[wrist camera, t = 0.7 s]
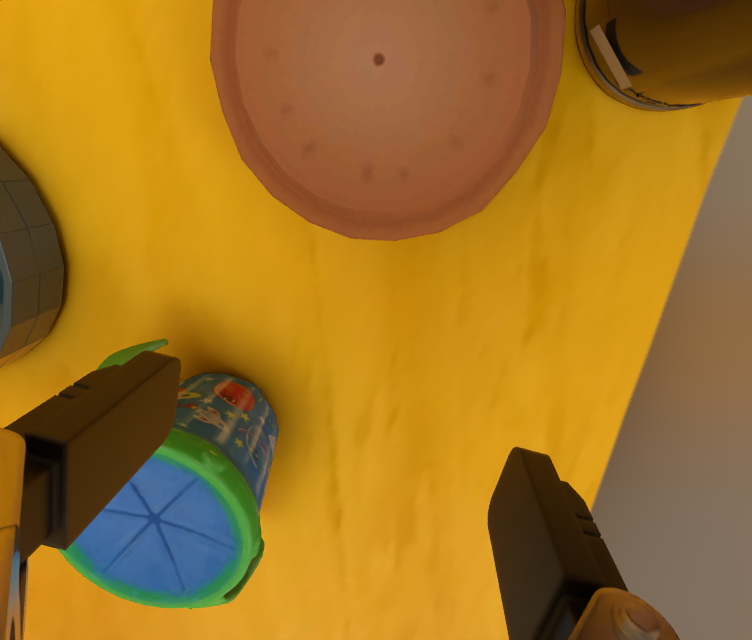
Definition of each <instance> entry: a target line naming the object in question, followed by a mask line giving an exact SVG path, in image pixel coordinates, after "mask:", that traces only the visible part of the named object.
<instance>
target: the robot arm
mask: <svg viewBox="0 0 752 640" xmlns="http://www.w3.org/2000/svg"><path fill="white" fill-rule="evenodd" d="M575 28H576V37H577V42H578V47H579V50H580V54H581V56H582V59H583V61H584V64H585V66H586V68H587V69H588V71H589V73H590V74H591V76H592V77H593V79H594V80H595V81H596V83H597V84H598V85H599V86H600V87H601V88H602V89H603V90H604V91H605V92H606V93H607V94H609V95H610V96H612V97H613V98H614V99H616V100H618V101H620V102H621V103H623V104H626V105H628V106H631V107H634V108H638V109H642V110H648V111H672V110H679V109H685V108H690V107H695V106H699V105H702V104H705V103H708V102H713V101H720V100H726V99H732V98H738V97H744V96H749V95H752V0H576V9H575ZM180 371H181V363H180V360H179V359H178V358H176V357H172V356H168V355H164V354H160V353H156V352H153V351H149V350H145V351H142V352H141V353H139V354H138V355H136V356H135V357H134V358H132V359H131V360H129V361H128V362H126V363H125V364H123V365H122V366H121V365H117V364H115V365H112V366H108V367H105V368H102V369H99V370H96V371H92V372H91V373H89V374H87V375H86V376H84V377H83V378H81V379H80V380H78V381H77V382H75V383H74V385H73V386H71V385H70V386H69V387H67V388H66V389H64V390H63V391H61V392H60V393H59V395H58V396H56V395H55V396H53V397H52V398H50V399H49V400H47V401H46V402H44V403H42V404H41V405H39V406H38V407H36V408H35V409H33V410H32V411H30V412H28V413H27V414H25V415H24V416H22V417H21V418H19V419H18V420H16V421H15V422H13V423H11V424H10V425H8V426H7V427H5V428H4V429H3V428H0V640H24V632H25V615H26V598H27V580H28V557H29V556H30V555H31V554H32V553H33V552H34V551H35V550H36V549H37V548H38V547H39V546H40V545H41V544H42V545H45V546H49V547H53V548H57V549H61V550H65V551H66V550H67V549H68V547H69V546H70V545H71V544H72V543H73V542H74V541H75V540H76V539H77V538H78V536H79V535H80V534H81V533H82V532H83V531H84V530H85V529H86V528H87V527H88V525H89V524H90V523H91V522H92V521H93V520H94V519H95V518H96V517H97V515H98V514H99V513H100V512H101V511H102V510H103V509H104V508H105V507H106V506H107V504H108V503H109V502H110V501H111V500H112V499H113V498H114V497H115V496H116V495H117V493H118V492H119V491H120V490H121V489H122V488H123V487H124V486H125V485H126V484H127V482H128V481H129V480H130V479H131V478H132V477H133V476H134V475H135V474H136V472H137V471H138V470H139V469H140V468H141V467H142V466H143V465H144V464H145V463H146V461H147V460H148V459H149V458H150V457H151V456H152V455H153V454H154V453H155V452H156V450H157V449H158V448H159V447H160V446H161V445H162V444H163V443H164V441H165V440H166V439H167V437H168V436H169V434H170V432H171V429H172V427H173V424H174V421H175V417H176V409H177V399H178V390H179V381H180ZM488 529H489V535H490V540H491V545H492V550H493V556H494V561H495V566H496V572H497V577H498V582H499V588H500V593H501V598H502V603H503V609H504V614H505V619H506V625H507V630H508V635H509V640H680V639H679V637H678V635H677V634H676V632H675V631H674V629H673V628H672V627H671V625H670V624H669V623H668V622H667V621H666V619H665V618H664V617H662V615H661V614H660V613H659V612H657V611H656V610H655V609H654V608H653V607H652V606H650V605H649V604H648V603H646V602H645V601H643V600H642V599H640V598H639V597H637V596H635V595H633V594H631V593H629V592H628V590H627V588H626V586H625V584H624V582H623V579H622V577H621V575H620V573H619V571H618V569H617V567H616V565H615V563H614V561H613V559H612V557H611V555H610V553H609V551H608V549H607V547H606V544H605V543H604V540H603V539H601V538H600V536H601V534H600V533H599V530H598V528H597V526H596V524H595V523H593V518H592V516H591V514H590V512H589V510H588V507H587V505H586V503H585V501H584V500H583V499H582V498H581V497H580V495H579V494H578V493H577V492H576V491H575V490H574V489H573V488H572V487H571V486H570V485H569V483H568V482H564V481H560V479H559V477H558V474H557V472H556V470H555V468H554V465H553V463H552V461H551V459H550V457H549V456H548V455H546V454H542V453H539V452H535V451H531V450H527V449H523V448H519V447H514V448H513V449H512V450H511V452H510V454H509V456H508V458H507V461H506V463H505V466H504V468H503V471H502V473H501V476H500V478H499V481H498V483H497V486H496V488H495V491H494V493H493V496H492V498H491V501H490V505H489V510H488Z"/></svg>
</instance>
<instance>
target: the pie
mask: <svg viewBox="0 0 752 640" xmlns="http://www.w3.org/2000/svg"><path fill="white" fill-rule="evenodd" d="M565 17H566V10H565V5H564V1H563V0H214V1H213V13H212V33H211V53H210V61H211V65H212V70H213V74H214V78H215V82H216V87H217V91H218V95H219V99H220V103H221V108H222V112H223V114H224V117H225V119H226V122H227V124H228V127H229V129H230V132H231V134H232V137H233V139H234V142H235V144H236V146H237V149H238V151H239V154H240V156H241V159H242V160H243V161H244V163H245V164H246V165H247V166H248V167H249V169H250V170H251V171H252V172H253V173H254V174H255V176H256V177H257V178H258V179H259V180H260V182H261V183H262V184H263V185H264V186H265V188H266V189H267V190H268V191H269V192H270V193H271V195H272V196H273V197H275V198H276V199H277V200H279V201H280V202H282V203H283V204H284V205H286V206H287V207H289V208H290V209H291V210H293V211H294V212H296V213H297V214H299V215H300V216H301V217H303V218H304V219H306V220H307V221H308V222H310V223H312V224H315V225H318V226H320V227H323V228H325V229H328V230H331V231H333V232H336V233H338V234H341V235H343V236H346V237H349V238H352V239H370V240H388V241H397V240H402V239H407V238H412V237H417V236H422V235H427V234H432V233H437V232H441V231H443V230H445V229H447V228H449V227H451V226H452V225H454V224H456V223H458V222H460V221H462V220H464V219H466V218H468V217H470V216H472V215H474V214H476V213H478V212H480V211H482V210H483V209H484V208H485V206H486V205H487V204H488V203H489V202H490V201H491V200H492V198H493V197H494V196H495V195H496V194H497V193H498V192H499V191H500V189H501V188H502V187H503V186H504V185H505V184H506V183H507V181H508V180H509V179H510V178H511V177H512V176H513V175H514V173H515V172H516V171H517V169H518V168H519V166H520V165H521V163H522V162H523V160H524V159H525V157H526V156H527V154H528V153H529V151H530V150H531V148H532V147H533V145H534V144H535V142H536V141H537V139H538V138H539V136H540V135H541V133H542V132H543V130H544V129H545V127H546V124H547V120H548V117H549V113H550V110H551V106H552V103H553V99H554V96H555V92H556V89H557V86H558V82H559V79H560V75H561V68H562V55H563V42H564V30H565Z"/></svg>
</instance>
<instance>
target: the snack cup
mask: <svg viewBox="0 0 752 640" xmlns="http://www.w3.org/2000/svg"><path fill="white" fill-rule="evenodd" d="M167 344H168V340H167V339H161V340H156V341H151V342H147V343H143V344H140V345H135V346H132V347H129V348H126V349H123V350H121V351H118V352H116V353H114V354H112V355H110V356H109V357H108V358H107V359H106V360H104V362H103V363H102V364H101V365H100V366H99V368H98V369H97V370H99V369H102V368H105V367H108V366H112V365H115V364H117V365H121V366H122V365H123V364H125V363H126V362H128V361H129V360H131V359H132V358H134V357H135V356H136V355H138V354H139V353H141V352H142V351H145V350H149V351H153V352H154V351H155V350H157V349H159V348H160V347H162V346H164V345H167ZM277 436H278V427H277V423H276V417H275V414H274V412H273V410H272V408H271V406H270V404H269V403H268V402H267V400H266V399H265V397H264V396H263V395H262V392H261V390H260V389H259V388H257V387H256V386H255V384H253V383H249V382H246V381H243V380H241V379H239V378H236V377H234V376H231V375H226V374H220V373H206V372H204V373H202V374H200V375H197V376H193V377H191V378H190V379H188V380H185V381H184V382H181V383H179V390H178V399H177V409H176V417H175V421H174V424H173V427H172V429H171V432H170V434H169V436H168V437H167V439H166V440H165V441H164V443H163V444H162V445H161V446H160V447H159V448H158V449H157V450H156V452H155V453H154V454H153V455H152V456H151V457H150V458H149V459H148V460H147V461H146V463H145V464H144V465H143V466H142V467H141V468H140V469H139V470H138V471H137V472H136V474H135V475H134V476H133V477H132V478H131V479H130V480H129V481H128V482H127V484H126V485H125V486H124V487H123V488H122V489H121V490H120V491H119V492H118V493H117V495H116V496H115V497H114V498H113V499H112V500H111V501H110V502H109V503H108V504H107V506H106V507H105V508H104V509H103V510H102V511H101V512H100V513H99V514H98V515H97V517H96V518H95V519H94V520H93V521H92V522H91V523H90V524H89V525H88V527H87V528H86V529H85V530H84V531H83V532H82V533H81V534H80V535H79V536H78V538H77V539H76V540H75V541H74V542H73V543H72V544H71V545H70V546H69V547H68V549H67V550H66V551H65V550H61V549H58V550H59V551H60V553H61V554H62V555H63V556H64V558H65V559H66V560H67V561H68V562H69V563H70V564H71V565H72V566H73V567H74V568H75V569H76V570H77V571H78V572H79V573H81V574H82V575H83V576H84V577H86V578H87V579H88V580H90V581H91V582H93V583H94V584H96V585H97V586H99V587H101V588H102V589H104V590H106V591H108V592H110V593H112V594H114V595H116V596H118V597H120V598H123V599H126V600H129V601H132V602H135V603H139V604H142V605H147V606H154V607H160V608H189V609H192V608H203V607H211V606H217V605H221V604H226V603H229V602H231V601H232V600H234V599H235V597H236V596H237V595H238V594H239V593H240V591H241V590H242V589H243V587H244V586H245V584H246V583H247V581H248V580H249V578H250V577H251V575H252V574H253V572H254V570H255V569H256V567H257V565H258V563H259V561H260V559H261V558H262V556H263V551H264V541H263V539H262V538H261V527H260V515H259V512H260V509H261V505H262V499H263V496H264V493H265V489H266V483H267V479H268V476H269V470H270V466H271V464H272V459H273V455H274V450H275V445H276V441H277Z"/></svg>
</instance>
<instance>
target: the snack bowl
mask: <svg viewBox="0 0 752 640" xmlns="http://www.w3.org/2000/svg"><path fill="white" fill-rule="evenodd" d="M63 278H64V264H63V259H62V255H61V251H60V247H59V243H58V238H57V234H56V230H55V226H54V224H53V221H52V219H51V218H50V216H49V214H48V212H47V210H46V208H45V206H44V205H43V203H42V201H41V199H40V197H39V195H38V193H37V192H36V190H35V188H34V186H33V184H32V182H31V181H30V180H29V178H28V177H27V176H26V175H25V173H24V172H23V171H22V170H21V169H20V168H19V167H18V166H17V165H16V163H15V162H14V161H13V160H12V159H11V158H10V157H9V156H8V154H7V153H6V152H5V151H4V150H3V149H2V148H1V147H0V368H1V367H3V366H5V365H7V364H9V363H11V362H13V361H15V360H16V359H18V358H20V357H22V356H24V355H25V354H26V353H27V352H28V351H30V350H31V349H32V348H33V347H34V346H35V345H37V344H38V343H39V342H40V341H41V340H42V339H44V338H45V337H46V335H47V334H48V332H49V330H50V328H51V326H52V324H53V322H54V319H55V317H56V315H57V313H58V311H59V309H60V307H61V304H62V292H63Z"/></svg>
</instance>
